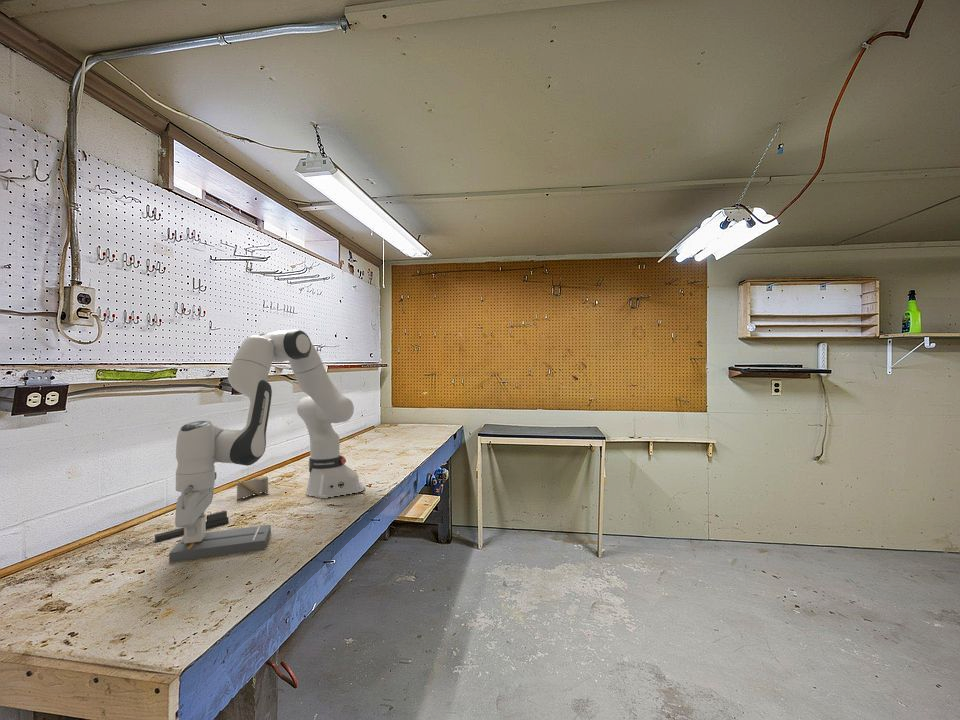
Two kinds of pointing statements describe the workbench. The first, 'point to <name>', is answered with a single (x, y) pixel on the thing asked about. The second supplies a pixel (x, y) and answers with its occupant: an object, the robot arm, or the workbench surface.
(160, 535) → the dark grey bar
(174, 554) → the slider console
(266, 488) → the model
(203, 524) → the fader cap
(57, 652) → the workbench surface
